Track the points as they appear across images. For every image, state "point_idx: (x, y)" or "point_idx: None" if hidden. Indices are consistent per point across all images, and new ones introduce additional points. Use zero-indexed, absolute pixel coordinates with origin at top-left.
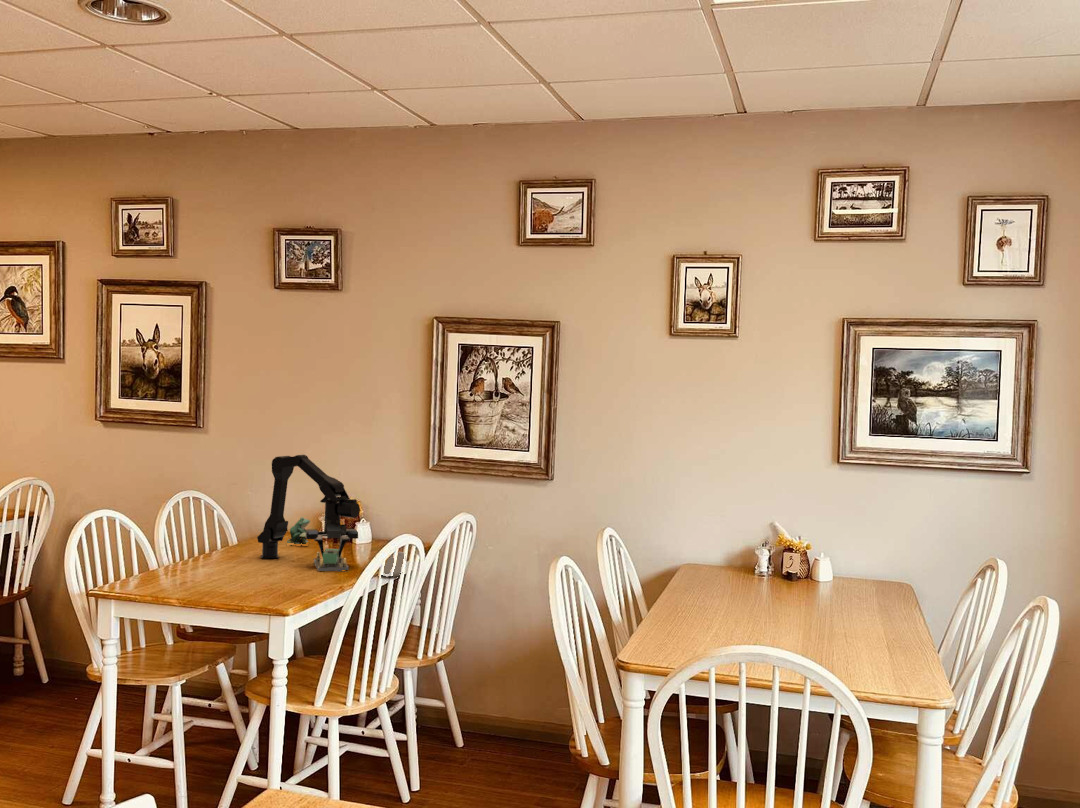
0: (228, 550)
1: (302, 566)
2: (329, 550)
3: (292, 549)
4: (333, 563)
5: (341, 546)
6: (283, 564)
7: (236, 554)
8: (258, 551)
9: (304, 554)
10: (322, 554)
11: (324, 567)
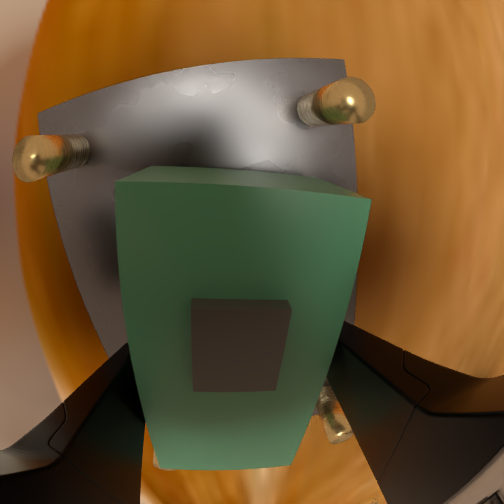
0: None
1: (416, 284)
2: (260, 382)
3: (357, 495)
4: None
5: (68, 425)
6: (472, 318)
7: None
8: None
9: (340, 478)
10: None
11: (282, 68)
